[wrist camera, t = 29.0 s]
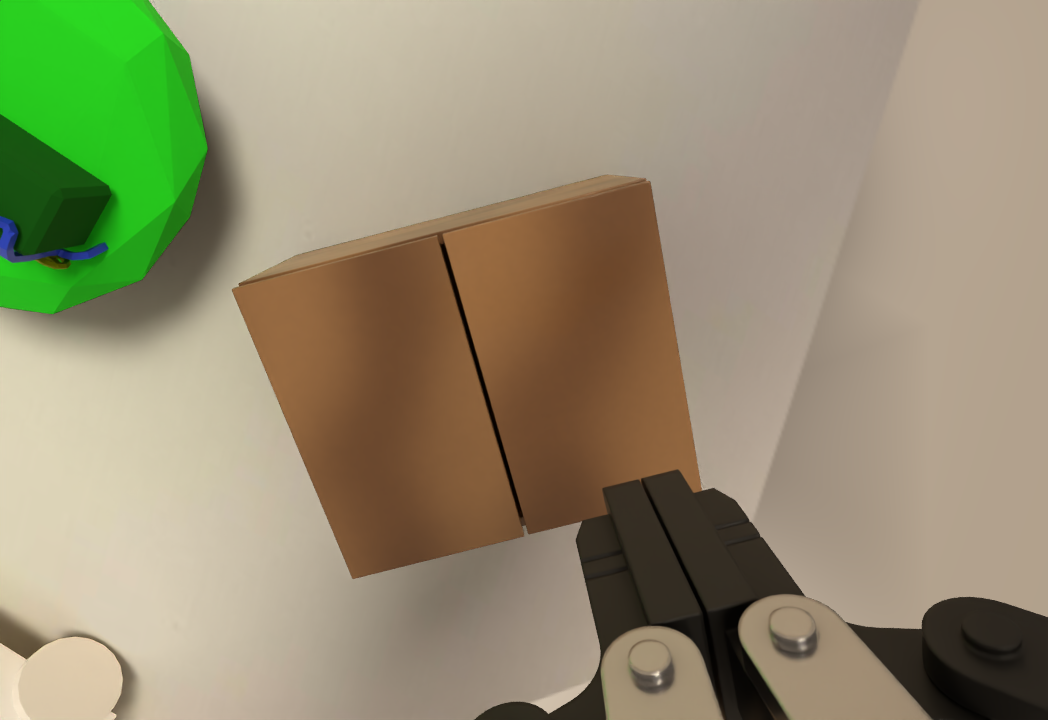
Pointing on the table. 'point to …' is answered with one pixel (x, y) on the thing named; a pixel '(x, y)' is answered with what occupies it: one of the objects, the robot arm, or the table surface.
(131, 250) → the green domed toy
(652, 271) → the flap
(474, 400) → the carton
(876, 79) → the table surface
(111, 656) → the toy truck
